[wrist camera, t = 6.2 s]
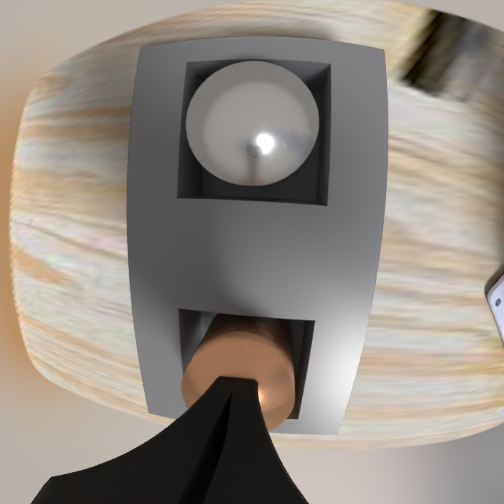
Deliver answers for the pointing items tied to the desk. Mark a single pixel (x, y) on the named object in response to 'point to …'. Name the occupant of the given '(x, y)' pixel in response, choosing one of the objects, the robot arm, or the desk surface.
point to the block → (258, 222)
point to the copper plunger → (246, 362)
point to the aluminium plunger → (252, 123)
